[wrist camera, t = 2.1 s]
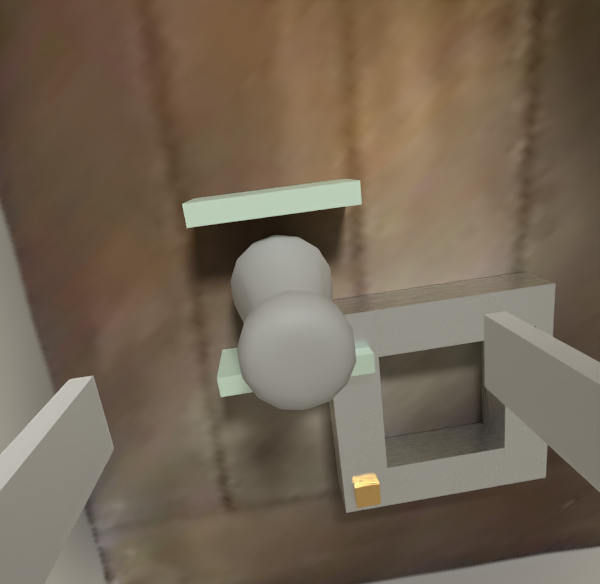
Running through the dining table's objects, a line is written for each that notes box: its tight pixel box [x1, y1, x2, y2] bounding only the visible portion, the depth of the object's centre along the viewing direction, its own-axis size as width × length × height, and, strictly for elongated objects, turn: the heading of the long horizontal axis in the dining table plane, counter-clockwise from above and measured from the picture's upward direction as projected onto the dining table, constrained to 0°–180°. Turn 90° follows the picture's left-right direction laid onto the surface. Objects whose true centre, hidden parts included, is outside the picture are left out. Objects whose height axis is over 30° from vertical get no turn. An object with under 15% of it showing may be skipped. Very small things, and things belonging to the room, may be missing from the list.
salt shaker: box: [231, 235, 356, 410], centre depth 21 cm, size 6×6×13 cm
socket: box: [329, 272, 556, 513], centre depth 28 cm, size 14×14×4 cm
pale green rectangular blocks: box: [182, 179, 375, 397], centre depth 25 cm, size 11×9×4 cm
